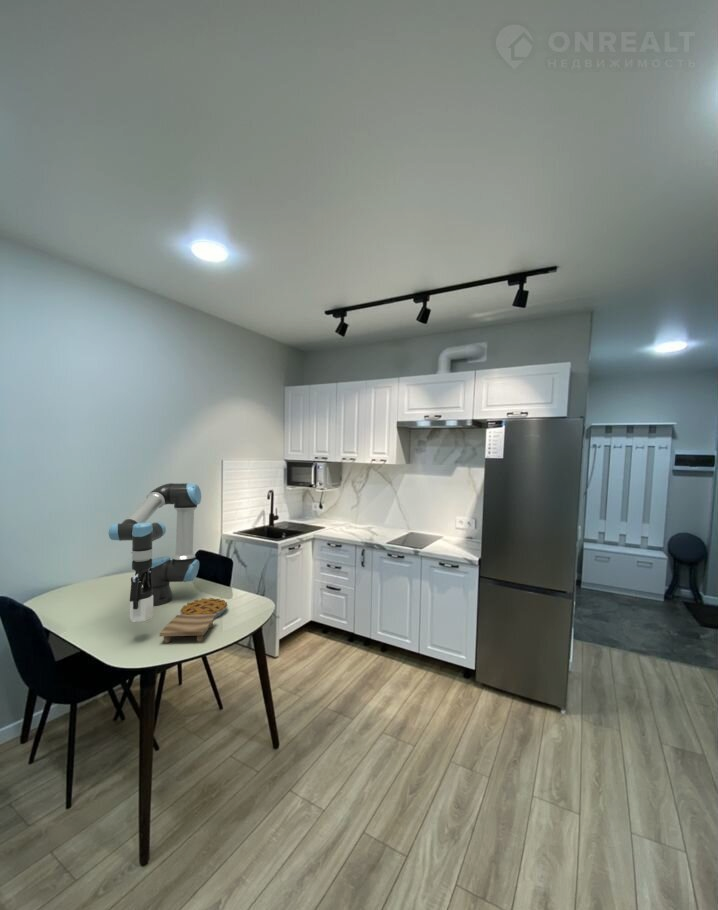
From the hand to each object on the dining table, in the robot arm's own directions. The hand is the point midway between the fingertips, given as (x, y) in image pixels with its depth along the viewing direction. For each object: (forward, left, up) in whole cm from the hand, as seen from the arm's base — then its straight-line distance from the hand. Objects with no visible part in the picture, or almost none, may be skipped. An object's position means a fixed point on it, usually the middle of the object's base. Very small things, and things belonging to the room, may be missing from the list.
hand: (141, 611), depth 160 cm
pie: (-26, +18, -12) cm, 34 cm away
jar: (0, 0, -3) cm, 3 cm away
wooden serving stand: (-3, +19, -12) cm, 23 cm away
